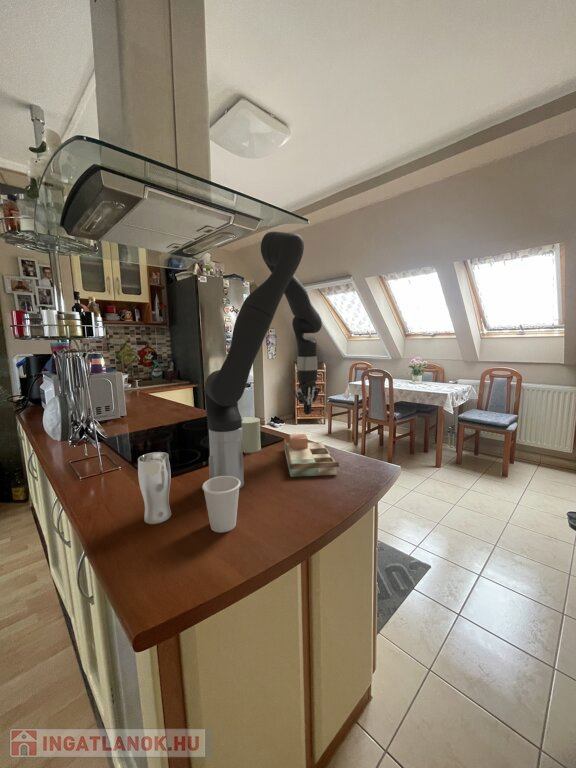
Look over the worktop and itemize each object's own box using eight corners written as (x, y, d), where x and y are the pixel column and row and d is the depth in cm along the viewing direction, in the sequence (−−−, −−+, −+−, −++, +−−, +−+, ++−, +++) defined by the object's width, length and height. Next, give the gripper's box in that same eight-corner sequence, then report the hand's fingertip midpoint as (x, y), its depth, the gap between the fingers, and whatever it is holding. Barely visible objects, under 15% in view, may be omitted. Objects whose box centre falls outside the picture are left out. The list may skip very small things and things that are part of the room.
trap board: (290, 476, 97) (290, 464, 96) (284, 449, 120) (284, 439, 120) (338, 474, 98) (338, 462, 97) (323, 448, 122) (323, 438, 121)
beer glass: (163, 506, 80) (159, 449, 78) (179, 515, 76) (175, 455, 74) (136, 518, 75) (131, 457, 73) (151, 529, 71) (146, 465, 69)
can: (235, 446, 125) (234, 416, 123) (258, 444, 127) (257, 414, 126) (238, 454, 116) (237, 422, 114) (263, 451, 119) (262, 420, 117)
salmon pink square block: (291, 448, 114) (291, 439, 114) (289, 443, 120) (289, 434, 120) (307, 448, 115) (307, 438, 114) (305, 442, 121) (305, 433, 120)
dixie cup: (201, 520, 74) (199, 479, 73) (236, 511, 77) (235, 473, 76) (208, 540, 67) (205, 495, 65) (246, 530, 70) (245, 487, 68)
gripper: (303, 370, 110) (303, 419, 113) (326, 367, 120) (326, 412, 122) (287, 369, 116) (288, 415, 118) (310, 366, 125) (311, 409, 128)
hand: (307, 413), depth 120 cm, fingers closed
